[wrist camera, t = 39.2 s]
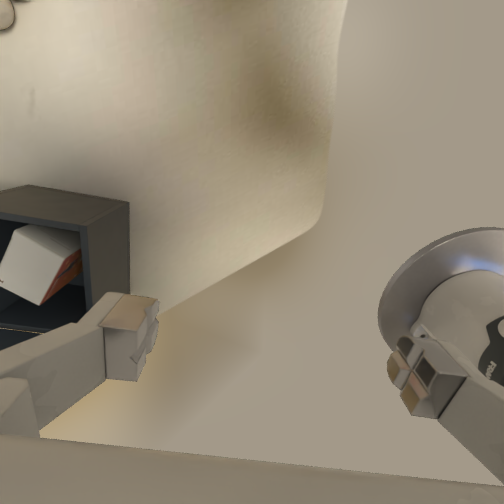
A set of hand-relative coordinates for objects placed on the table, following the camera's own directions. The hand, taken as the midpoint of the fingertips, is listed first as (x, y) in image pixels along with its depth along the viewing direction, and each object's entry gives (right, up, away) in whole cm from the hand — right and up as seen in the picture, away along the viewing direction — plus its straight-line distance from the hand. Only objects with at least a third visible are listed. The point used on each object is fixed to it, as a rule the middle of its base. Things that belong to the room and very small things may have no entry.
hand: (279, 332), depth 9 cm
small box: (-26, +5, +30) cm, 40 cm away
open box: (-26, +4, +31) cm, 41 cm away
